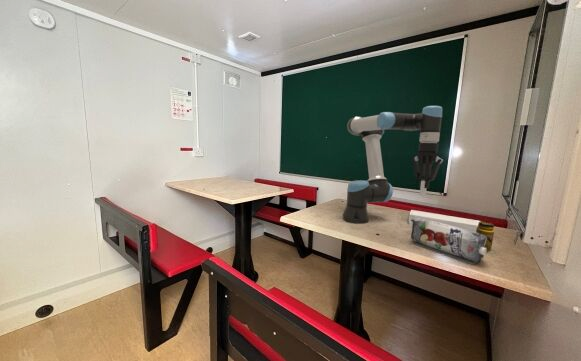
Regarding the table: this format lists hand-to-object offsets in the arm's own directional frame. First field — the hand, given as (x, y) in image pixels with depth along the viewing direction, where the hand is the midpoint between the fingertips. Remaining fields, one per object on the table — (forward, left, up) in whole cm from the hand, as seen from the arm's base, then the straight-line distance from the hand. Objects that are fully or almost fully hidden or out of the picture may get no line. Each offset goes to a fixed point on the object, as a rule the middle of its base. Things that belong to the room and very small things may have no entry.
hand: (422, 194), depth 106 cm
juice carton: (-2, 0, -17) cm, 17 cm away
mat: (+12, +2, -23) cm, 26 cm away
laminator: (-3, +34, -23) cm, 42 cm away
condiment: (+19, +18, -23) cm, 35 cm away
